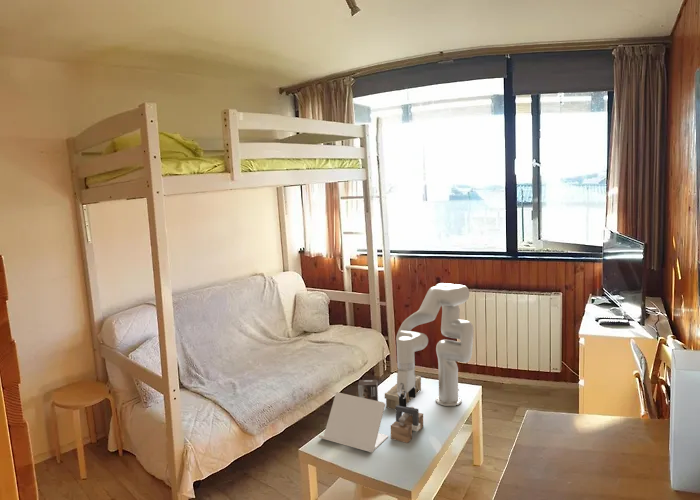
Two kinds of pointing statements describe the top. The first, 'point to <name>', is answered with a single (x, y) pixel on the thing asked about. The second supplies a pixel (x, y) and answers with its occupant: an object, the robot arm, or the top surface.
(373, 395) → the coffee box
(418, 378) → the block tower
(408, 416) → the wooden handle frame
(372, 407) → the tablet stand
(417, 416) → the grey c-shaped block
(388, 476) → the top surface
